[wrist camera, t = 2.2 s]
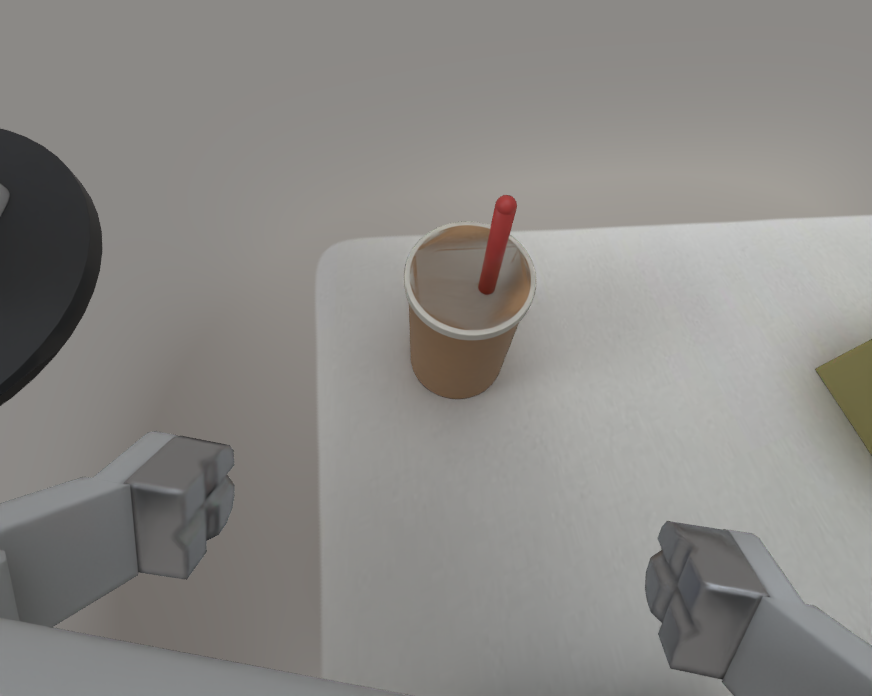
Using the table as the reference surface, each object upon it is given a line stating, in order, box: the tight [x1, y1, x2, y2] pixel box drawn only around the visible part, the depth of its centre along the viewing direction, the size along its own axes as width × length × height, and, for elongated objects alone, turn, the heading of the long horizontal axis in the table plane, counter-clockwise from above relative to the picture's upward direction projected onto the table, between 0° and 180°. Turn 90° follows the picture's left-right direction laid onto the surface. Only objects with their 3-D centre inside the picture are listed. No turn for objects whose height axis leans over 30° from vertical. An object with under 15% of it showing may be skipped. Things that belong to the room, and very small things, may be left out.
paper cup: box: [404, 195, 536, 399], centre depth 27 cm, size 6×6×16 cm
